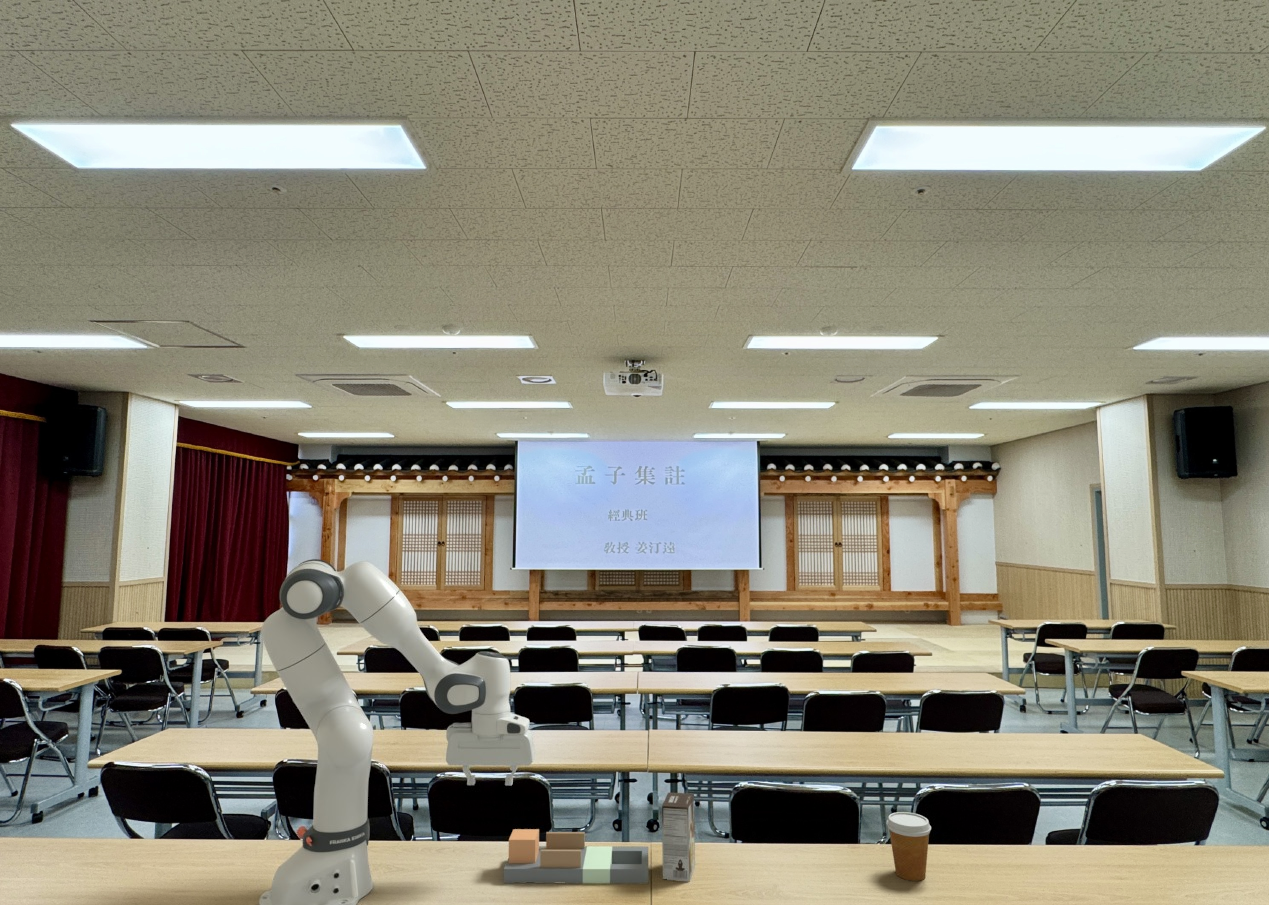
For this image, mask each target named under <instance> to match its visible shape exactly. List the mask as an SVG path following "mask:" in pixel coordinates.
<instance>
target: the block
mask: <svg viewBox="0 0 1269 905" xmlns="http://www.w3.org/2000/svg"><path fill="white" fill-rule="evenodd" d="M539 846H540V829H539V828H536V829H534V828H533V829H531V828H529V829H528V828H524V829H521V828H517V829H516V828H515V829H512V832H511V834H510V836H509V839H508V858H509V863H535V862H536V859H537V856H538V853H539Z"/></svg>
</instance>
